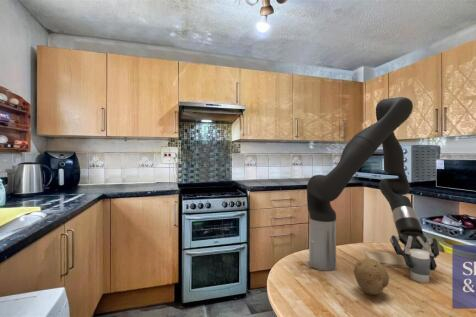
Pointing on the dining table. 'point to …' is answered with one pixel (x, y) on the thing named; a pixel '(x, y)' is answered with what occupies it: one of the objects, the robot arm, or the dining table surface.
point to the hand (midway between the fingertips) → (422, 268)
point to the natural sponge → (371, 276)
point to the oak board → (387, 259)
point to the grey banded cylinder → (420, 265)
